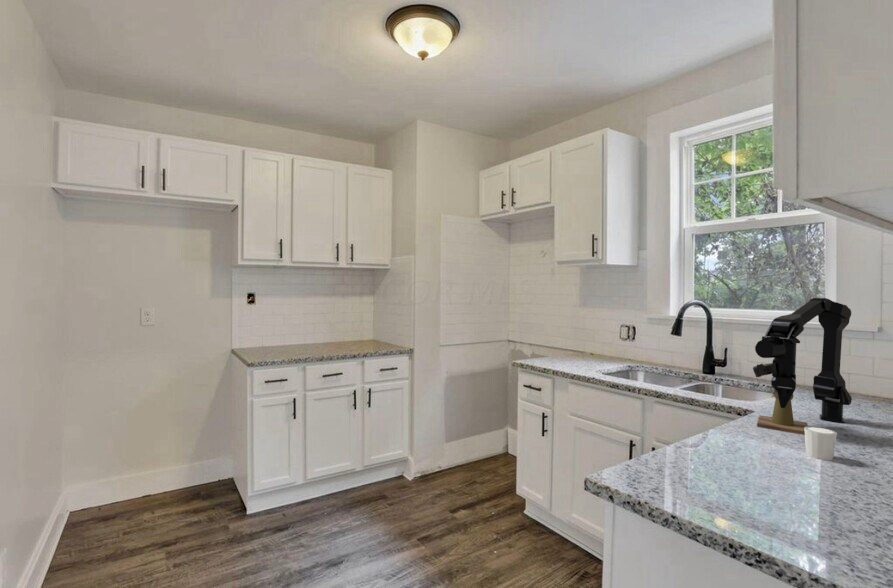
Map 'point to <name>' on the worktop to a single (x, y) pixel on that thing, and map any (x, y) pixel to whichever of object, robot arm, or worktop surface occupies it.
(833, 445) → the white faceted cup
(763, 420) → the walnut coaster board
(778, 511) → the worktop surface
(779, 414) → the cork
